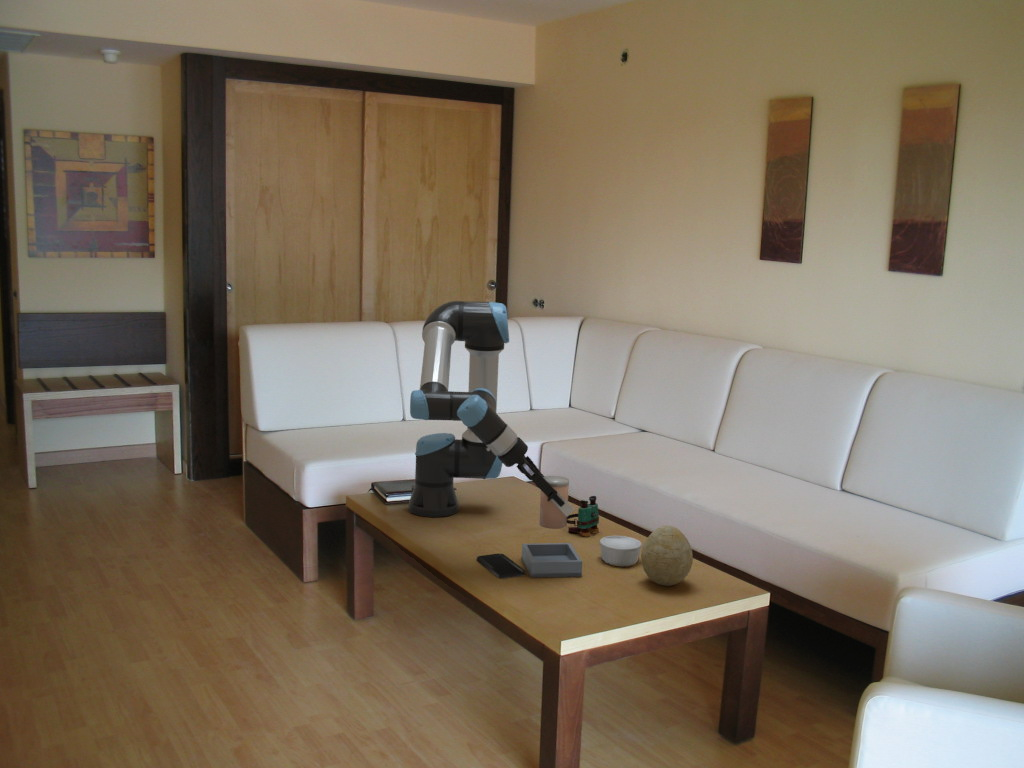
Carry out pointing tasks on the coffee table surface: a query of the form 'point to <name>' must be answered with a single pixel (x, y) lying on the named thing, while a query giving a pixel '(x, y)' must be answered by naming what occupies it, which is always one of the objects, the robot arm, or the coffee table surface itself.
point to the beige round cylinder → (548, 510)
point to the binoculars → (585, 518)
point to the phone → (501, 566)
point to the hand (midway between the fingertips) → (567, 508)
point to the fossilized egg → (666, 556)
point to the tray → (551, 560)
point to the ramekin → (620, 550)
